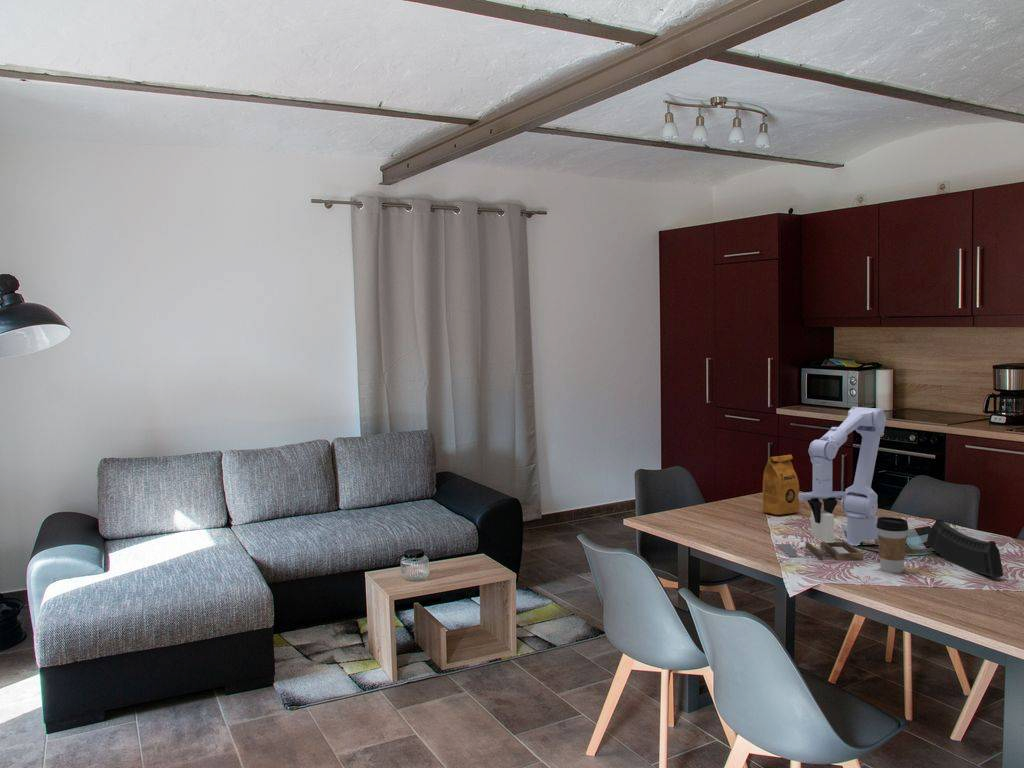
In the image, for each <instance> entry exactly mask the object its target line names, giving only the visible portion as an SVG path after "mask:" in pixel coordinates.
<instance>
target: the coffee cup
mask: <svg viewBox="0 0 1024 768" xmlns="http://www.w3.org/2000/svg"><path fill="white" fill-rule="evenodd" d="M877 518H878V519H877V524H876V525H877V526H876V527H877V528H878V545H879V546H878V552H879V553H878V555H879V561H880V562H879V566H880V570H881V571H883V572H885V571H886V573H891V574H893V573H894V574H899V573H903V572H904V566H905V556H906V549H907V541H908V540H907V539H908V535H907V532H908V530H909V524H908V520H906V519H904V518H900V517H899V518H898V517H891V516H890V517H889V516H877Z"/></svg>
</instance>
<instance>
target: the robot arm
mask: <svg viewBox="0 0 1024 768" xmlns="http://www.w3.org/2000/svg"><path fill="white" fill-rule="evenodd" d="M886 420H887V417H886V414H885V411H884V410H883V409H882V408H880V407H878V408H876V407H875V408H873V407H860V406H852V407H851V408H849V410H848V411H847V417H846V418H845V419H844V420H843V422H841V424H840V425H839V426H831V428H830V429H829V430H828V431H827V432H826V433H825V434H824V435H822V437H820V438H819V439H814V440H813V441H811V442H810V444H809V448H808V451H807V452H808V454H809V457H810V462H811V464H812V491H808V492H799V493H798V499H799V501H802V502H803V501H807V503H808V505H809V506H810V510H811V509H812V512H813V515H814V519H815V522H816V523H820V520H821V517H820V513H821V509H822V505H823V510H824V511H826V512H829V513H831V514H833V512H834V510H835V509H836V508H835V507H837V505H838V499H841V500H840V508H841V509H842V510H841V511H843V512H844V515H845V516H846V537H842V538H841V539H842V541H846V542H847V543H849V544H850V545H851V546H853V547H859V546H858V545H860V543H861V542H862V541H864V540H872V539H878V528H877V527H876V526H877V525H876V524H877V519H878V516H876V513H877V511H878V509H879V508H878V494H877V493H876V492H875V491H874V490H873V488H872V481H873V477H874V472H875V466H876V460H877V456H878V451H879V447H880V446H879V445H880V440H881V437H882V436H883V435H884V432H885V427H886V422H887V421H886ZM854 431H855V432H856V433H858V434H860V436H861V443H860V444H861V445H860V448H859V454H858V459H857V463H856V469H855V475H854V480H853V484H852V485H850V486H849V487H847V488H845V491H843V490H840V491H838V490H837V491H836V490H834V491H833V459H835V458H836V455H837V454H838V451H839V449H840V448H841V446H843V445H844V444H845V443H846V442H847V441H848V435H849V434H851V433H852V432H854ZM820 500H822V502H821V501H820Z"/></svg>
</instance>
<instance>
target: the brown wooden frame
mask: <svg viewBox="0 0 1024 768" xmlns="http://www.w3.org/2000/svg"><path fill="white" fill-rule="evenodd" d="M804 543H805V544H804V545H805V547H804V548H806V549H808V550H809V551H810V552H811V553H812V554H811V553H810V552H809V551H808V550H807V551H808V552H809V553H810V554H811V555H813V554H814V555H815V556H816V557H817V558H818V559H817V558H816V557H815V556H814V555H813V556H814V557H815V558H816V559H817V560H819V561H824V553H823V552H821V551H820V550H819V549H818V548H817V547H815V546H814V545H813V544H811V543H810V542H808V541H807V542H804ZM832 547H843V548H844V549H845V550H846V551H848V552H849V553H838V552H837V551H836V550H834V549H833V548H832ZM821 548H822V549H821ZM806 549H805V550H806ZM820 549H821V550H823V551H824V550H825V551H826V552H825V551H824V552H825V553H827V555H829V554H830V555H831V556H830V555H829V556H830V557H831V558H833V559H834V560H835V561H838V560H841V561H864V552H861V551H860V550H859V549H857V548H856V547H855V546H851V545H850V544H849V543H847V542H846V541H843V540H842V541H840V540H839V541H838V540H837V541H834V543H826V542H824V541H820ZM838 562H839V561H838Z"/></svg>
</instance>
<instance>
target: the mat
mask: <svg viewBox="0 0 1024 768" xmlns="http://www.w3.org/2000/svg"><path fill="white" fill-rule="evenodd" d="M791 544H793V546H794V547H795V545H794V544H795V543H783V544H782V543H778V544H777V543H776V544H775V546H776V545H777V546H778V547H779V548H780V549H779V548H778V547H777V546H776V547H777V548H778V549H779V550H781V552H783V551H784V552H785V553H786V554H787V555H788V556H789V557H788V556H787V555H786V554H785V553H784V552H783V553H784V554H785V555H786V556H787V557H788V558H798V557H797V556H798V555H796V554H797V553H796V552H797V551H796V550H795V549H793V548H792V547H791ZM804 552H806V553H804V554H805V556H812V557H813V554H811V553H810V552H809V551H808V550H806V551H804Z"/></svg>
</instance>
